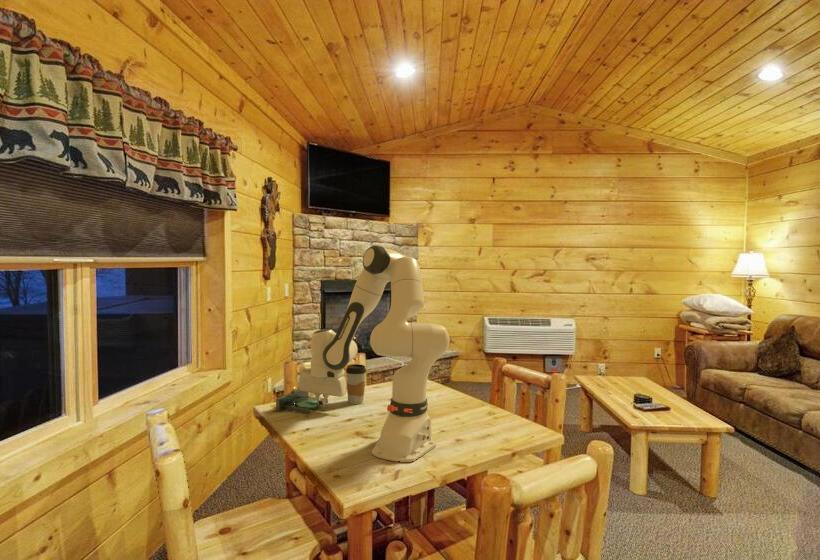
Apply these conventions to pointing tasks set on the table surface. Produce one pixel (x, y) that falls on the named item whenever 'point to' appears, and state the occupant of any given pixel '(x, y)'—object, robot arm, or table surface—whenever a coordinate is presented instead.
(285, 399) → the cradle
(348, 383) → the coffee cup
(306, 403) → the cover disc
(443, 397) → the table surface
